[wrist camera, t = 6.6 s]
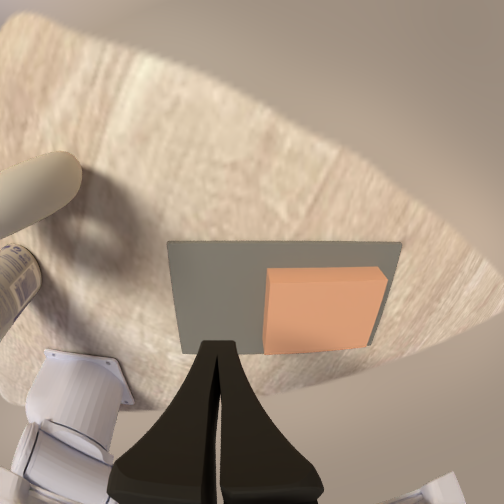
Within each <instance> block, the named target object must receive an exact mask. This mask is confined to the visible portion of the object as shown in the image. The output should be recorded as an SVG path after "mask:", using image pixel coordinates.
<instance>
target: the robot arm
mask: <svg viewBox="0 0 504 504" xmlns="http://www.w3.org/2000/svg"><path fill="white" fill-rule="evenodd" d="M44 354H45V355H46V358H45V360H44V362H43V364H42V366H41V368H40V370H39V372H38V374H37V376H36V378H35V380H34V382H33V384H32V386H31V388H30V390H29V392H28V394H27V398H26V415H27V419H28V421H29V423H28V424H27V425H26V427H25V429H24V431H23V434H22V436H21V438H20V441H19V443H18V446H17V449H16V452H15V455H14V458H13V461H12V465H11V471H9V470H8V469H6V468H4V467H2V466H0V504H118V503H119V504H217V492H216V460H215V459H216V454H215V453H216V452H215V451H216V450H215V443H216V429H217V420H218V410H219V401H220V395H221V404H222V410H221V457H220V458H221V459H220V460H221V461H220V487H221V492H222V496H223V500H224V504H318V502H317V499H318V498H319V497H320V496H321V494H322V493H323V492H324V487H323V484H322V481H321V479H320V477H319V475H318V473H317V471H316V469H315V468H314V466H313V465H312V464H311V463H310V462H309V461H308V460H307V459H306V458H305V457H303V456H302V455H301V454H300V453H299V452H298V451H297V450H296V449H295V448H294V447H293V446H292V445H291V444H290V442H289V441H288V440H287V439H286V438H285V437H284V435H283V434H282V433H281V432H280V431H279V429H278V428H277V427H276V426H275V425H274V423H273V422H272V420H271V419H270V418H269V416H268V415H267V414H266V412H265V410H264V409H263V407H262V406H261V404H260V402H259V401H258V399H257V397H256V395H255V393H254V392H253V390H252V388H251V386H250V384H249V382H248V379H247V377H246V375H245V373H244V370H243V368H242V365H241V362H240V359H239V356H238V352H237V348H236V342H235V341H233V340H203V341H202V342H201V344H200V347H199V350H198V353H197V356H196V358H195V360H194V363H193V365H192V367H191V369H190V371H189V373H188V375H187V377H186V379H185V381H184V382H183V384H182V386H181V387H180V389H179V391H178V392H177V394H176V396H175V397H174V399H173V400H172V402H171V403H170V405H169V406H168V407H167V409H166V410H165V412H164V413H163V414H162V415H161V417H160V418H159V419H158V420H157V422H156V423H155V424H154V425H153V426H152V427H151V429H150V430H149V431H148V432H147V433H146V434H145V435H144V436H143V437H142V438H141V439H140V440H139V441H138V442H137V443H136V444H135V445H134V446H133V447H132V448H130V449H129V450H128V451H127V452H126V453H124V454H123V455H122V456H121V457H119V458H118V459H117V460H116V461H115V463H114V464H113V463H112V462H113V458H114V456H113V455H112V454H110V453H109V448H110V444H111V440H112V436H113V431H114V427H115V423H116V419H117V415H118V412H119V408H120V404H128V405H133V404H134V402H135V401H134V399H133V396H132V394H131V392H130V390H129V387H128V385H127V383H126V380H125V378H124V376H123V373H122V371H121V368H120V366H119V363H118V361H117V360H116V359H114V358H107V357H99V356H91V355H84V354H77V353H70V352H64V351H58V350H52V349H45V350H44ZM30 483H31V484H30ZM378 504H466V502H465V499H464V496H463V493H462V491H461V488H460V486H459V483H458V481H457V478H456V476H455V473H454V471H450V472H448V473H447V474H444V475H442V476H440V477H438V478H435V479H433V480H431V481H429V482H428V483H426V484H425V485H423V486H422V487H421V488H419V489H417V490H414V491H412V492H409V493H407V494H404V495H401V496H399V497H396V498H393V499H390V500H387V501H384V502H381V503H378Z"/></svg>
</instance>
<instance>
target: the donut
mask: <svg viewBox="0 0 504 504" xmlns="http://www.w3.org/2000/svg"><path fill="white" fill-rule="evenodd" d="M81 181H82V168H81V166H80V163H79V161H78V160H77V159H76V157H75V156H73V155H72V154H70V153H68V152H64V151H56V152H51V153H47V154H44V155H41V156H38V157H35V158H32V159H29V160H27V161H24V162H22V163H19V164H17V165H14V166H12V167H9V168H7V169H5V170H2V171H0V239H3V238H5V237H7V236H9V235H12V234H14V233H16V232H18V231H20V230H22V229H24V228H26V227H28V226H30V225H33V224H34V223H36V222H38V221H40V220H42V219H44V218H46V217H48V216H50V215H51V214H53V213H55V212H56V211H58V210H59V209H61V208H63V207H64V206H65V205H67V204H68V203H69V202H70V201H71V200H72V199H73V198H74V197H75V196H76V194H77V193H78V191H79V189H80V186H81Z"/></svg>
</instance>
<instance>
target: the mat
mask: <svg viewBox="0 0 504 504" xmlns="http://www.w3.org/2000/svg"><path fill="white" fill-rule="evenodd" d="M401 248H402V243H401V242H356V241H168V242H167V249H168V258H169V267H170V275H171V283H172V290H173V298H174V305H175V311H176V318H177V324H178V330H179V336H180V342H181V348H182V354H197V353H198V350H199V347H200V344H201V342H202V341H203V340H233V341H235V342H236V348H237V352H238V354H264V347H263V340H262V336H263V322H264V307H265V292H266V276H267V268H328V267H379V269H380V270H381V271H382V273H383V274H384V275H385V276H386V278H387V279H388V282H387V285H386V289H385V292H384V295H383V299H382V302H381V305H380V308H379V311H378V314H377V317H376V320H375V323H374V326H373V329H372V332H371V335H370V337H369V340H368V343H367V346H369V345H371V343H372V341H373V338H374V335H375V332H376V330H377V327H378V324H379V321H380V318H381V315H382V312H383V309H384V306H385V303H386V300H387V297H388V294H389V291H390V287H391V284H392V281H393V277H394V274H395V270H396V267H397V263H398V259H399V255H400V252H401Z"/></svg>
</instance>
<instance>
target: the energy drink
mask: <svg viewBox="0 0 504 504" xmlns="http://www.w3.org/2000/svg"><path fill="white" fill-rule="evenodd" d="M41 280H42V279H41V272H40V268H39V266H38V263H37V261H36V260H35V258H34V257H33V255H32V254H31V253H30V252H29V251H28V250H27V249H26V248H24V247H22V246H20V245H18V244H7V245H6V246H4V247H3V248H2V249H1V250H0V342H1V340H2V339H3V337H4V336H5V335H6V333H7V332H8V330H9V329H10V328H11V326H12V325H13V323H14V322H15V321H16V319H17V318H18V317H19V315H20V314H21V313H22V311H23V310H24V309H25V307H26V306H27V305H28V303H29V302H30V301H31V300H32V298H33V297H34V296H35V295H36V293H37V292H38V291H39V289H40V287H41Z"/></svg>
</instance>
